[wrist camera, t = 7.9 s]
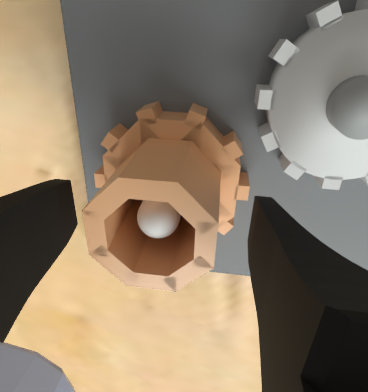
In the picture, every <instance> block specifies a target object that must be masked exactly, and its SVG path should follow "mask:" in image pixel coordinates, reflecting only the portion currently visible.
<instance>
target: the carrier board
mask: <svg viewBox="0 0 368 392" xmlns="http://www.w3.org/2000/svg"><path fill="white" fill-rule="evenodd" d="M60 2H61V9H62V16H63V24H64V31H65V38H66V45H67V52H68V59H69V67H70V74H71V81H72V88H73V95H74V102H75V109H76V117H77V124H78V131H79V138H80V145H81V152H82V160H83V167H84V174H85V181H86V188H87V195H88V202H90V200H91V199H92V198H93V197H94V196H95V194H96V193H97V192H98V191H99V190H100V188H96V187H95V179H94V173H95V172H96V171H97V170H98V169H99V168H100V167H101V166H102V165H103V155H104V154H105V153H106V152H107V151H108V150H107V149H106V148H105V147H103V146H102V145H101V143H102V141H103V140H104V138H105V137H106V135H107V134H108V132H109V131H110V130H112V129H113V128H114V127H115V126H117V125H118V124H119V123H120V124H122V125H123V126H124V127H126V128H127V129H128V130H129V129H130V128H131V127H132V126H133V125H134V124H135V123H136V122H137V121H138V118H137V115H136V112H137V111H138V110H139V109H141V108H142V107H143V106H144V105H147V104H150V103H154V102H157V101H160V105H161V108H162V111H168V112H185V113H188V112H189V110H190V108H191V106H192V104H193V103H195V104H197V105H200V106H202V107H205V108H207V109H208V111H207V115H206V117H207V118H208V119H209V120H210V121H211V122H212V124H213V125H214V126H215V127H216V128H217V129H218V130H219V131H220V133H221V134H222V135H223V136H225V135H227V134H229V133H230V132H232V131H235V133H236V135H237V136H238V138H239V140H240V141H241V143H242V150H243V155H241V156H240V164H241V168H240V172H245V173H248V177H249V184H250V189H249V196H248V201H246V200H236V206H235V214H234V217H233V219H234V227H233V228H231V229H230V230H229V231H228V232H227V233H226V234H225V235H222V234H221V233H220V232H217V242H216V252H215V262H214V269H212V270H211V271H209V272H218V273H227V274H236V275H245V276H250V270H249V264H248V234H249V228H250V222H251V216H252V209H253V203H254V197H255V196H265V197H272V198H273V199H274V200H275V201H276V202H277V203H278V204H279V205H280V206H281V207H282V208H283V209H284V210H285V211H287V212H288V213H289V214H290V215H291V216H292V217H293V218H294V219H295V220H296V221H297V222H298V223H299V224H300V225H302V226H303V227H304V228H305V229H306V230H307V231H309V232H310V233H311V234H312V235H314V236H315V237H316V238H317V239H319V240H320V241H321V242H323V243H324V244H325V245H327V246H328V247H330V248H331V249H333V250H334V251H336V252H337V253H339V254H340V255H342V256H343V257H345V258H347V259H348V260H350V261H352V262H353V263H355V264H357V265H359V266H361V267H362V268H364V269H366V270H368V0H60ZM180 217H181V214H180V213H179V212H178V211H177V210H175V209H174V208H173V207H172V206H171V205H170V204H169V203H168V202H158V201H147V200H143V201H142V203H141V205H140V207H139V210H138V213H137V221H138V225H139V227H140V229H141V230H142V231H143V232H144V233H145V234H146V235H148V236H150V237H152V238H164V237H167V236H169V235H171V234H172V233H173V232H174V231H175V230H176V228H177V226H178V224H179V221H180Z"/></svg>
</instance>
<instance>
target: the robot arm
mask: <svg viewBox="0 0 368 392" xmlns="http://www.w3.org/2000/svg"><path fill="white" fill-rule="evenodd" d="M77 224H78V223H77V217H76V211H75V205H74V199H73V193H72V187H71V180H61V179H54V180H49V181H46V182H42V183H39V184H36V185H33V186H30V187H28V188H25V189H22V190H19V191H16V192H14V193H11V194H8V195H5V196H2V197H0V392H75V390H74V388H73V386H72V384H71V383H70V381H69V380H68V378H67V377H66V375H65V373H64V372H63V370H62V369H61V368H60V367H58V366H57V365H55V364H54V363H52V362H51V361H49V360H48V359H46V358H45V357H43V356H42V355H40V354H39V353H37V352H34V351H31V350H28V349H25V348H21V347H18V346H15V345H11V344H8V343H3V342H4V340H5V338H6V337H7V335H8V333H9V331H10V329H11V327H12V325H13V324H14V322H15V320H16V318H17V316H18V315H19V313H20V311H21V310H22V308H23V306H24V304H25V303H26V301H27V299H28V298H29V296H30V295H31V293H32V292H33V290H34V289H35V287H36V286H37V284H38V283H39V282H40V280H41V279H42V278H43V276H44V275H45V274H46V272H47V271H48V270H49V268H50V267H51V266H52V264H53V263H54V262H55V260H56V259H57V257H58V256H59V255H60V253H61V252H62V251H63V249H64V248H65V246H66V245H67V243H68V242H69V240H70V238H71V236H72V234H73V232H74V230H75V228H76V226H77ZM248 264H249V270H250V276H251V282H252V288H253V293H254V299H255V305H256V311H257V318H258V326H259V341H260V358H261V377H262V392H368V270H366V269H364V268H362V267H361V266H359V265H357V264H355V263H353V262H352V261H350V260H348V259H347V258H345V257H343V256H342V255H340V254H339V253H337V252H336V251H334V250H333V249H331V248H330V247H328V246H327V245H325V244H324V243H323V242H321V241H320V240H319V239H317V238H316V237H315V236H314V235H312V234H311V233H310V232H309V231H307V230H306V229H305V228H304V227H303V226H302V225H300V224H299V223H298V222H297V221H296V220H295V219H294V218H293V217H292V216H291V215H290V214H289V213H288V212H287V211H285V210H284V209H283V208H282V207H281V206H280V205H279V204H278V203H277V202H276V201H275V200H274V199H273V198H272V197H265V196H255V197H254V203H253V209H252V216H251V222H250V228H249V234H248Z"/></svg>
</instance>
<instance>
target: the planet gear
mask: <svg viewBox="0 0 368 392" xmlns="http://www.w3.org/2000/svg"><path fill="white" fill-rule="evenodd" d="M207 111H208V109H207V108H205V107H202V106H200V105H197V104H195V103H193V104H192V106H191V108H190V110H189V112H188V113H185V112H168V111H162V108H161V105H160V101H157V102H154V103H150V104H147V105H144V106H143V107H142V108H141V109H139V110H138V111H137V112H136V115H137V118H138V121H137V122H136V123H135V124H134V125H133V126H132V127H131V128H130V129H129V130H128V129H127V128H126V127H124V126H123V125H122V124H120V123H119V124H118V125H117V126H115V127H114V128H113V129H112V130H110V131H109V132H108V134H107V135H106V137H105V138H104V140H103V141H102V143H101V145H102V146H103V147H105V148H106V149H107V150H108V151H107V152H106V153H105V154H104V155H103V165H102V166H101V167H100V168H99V169H98V170H97V171H96V172H95V173H94V179H95V187H96V188H100V190H99V191H98V192H97V193H96V194H95V196H94V197H93V198H92V199H91V200H90V202H89V203H88V204H87V205H86V206H85V208H84V209H83V210H82V212H83V219H84V225H85V232H86V238H87V245H88V251H89V255H90V256H91V257H92V258H94V259H95V260H96V261H97V262H98V263H100V264H101V265H102V266H103V267H104V268H106V269H107V270H108V271H109V272H110V273H112V274H113V275H114V276H115V277H117V278H118V279H119V280H120V281H121V282H123V283H124V284H125V285H126V286H131V287H140V288H148V289H157V290H165V291H173V292H176V291H178V290H179V289H181V288H183V287H184V286H186V285H188V284H189V283H191V282H192V281H194V280H196V279H197V278H199V277H201V276H202V275H204V274H206V273H207V272H209V271H211V270H212V269H214V262H215V252H216V242H217V232H220V233H221V234H222V235H225V234H226V233H227V232H228V231H229V230H230V229H231V228H233V227H234V219H233V217H234V214H235V206H236V200H246V201H248V196H249V189H250V184H249V177H248V173H245V172H240V168H241V164H240V156H241V155H243V150H242V143H241V141H240V140H239V138H238V136H237V135H236V133H235V131H232V132H230V133H229V134H227V135H225V136H223V135H222V134H221V133H220V131H219V130H218V129H217V128H216V127H215V126H214V125H213V124H212V122H211V121H210V120H209V119H208V118H207V117H206V115H207ZM143 200H147V201H158V202H168V203H169V204H170V205H171V206H172V207H173V208H174V209H175V210H177V211H178V212H179V213H180V214H181V217H180V221H179V224H178V226H177V228H176V230H175V231H174V232H173V233H172V234H171V235H169V236H167V237H164V238H152V237H150V236H148V235H146V234H145V233H144V232H143V231H142V230H141V229H140V227H139V225H138V221H137V213H138V210H139V207H140V205H141V203H142V201H143Z"/></svg>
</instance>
